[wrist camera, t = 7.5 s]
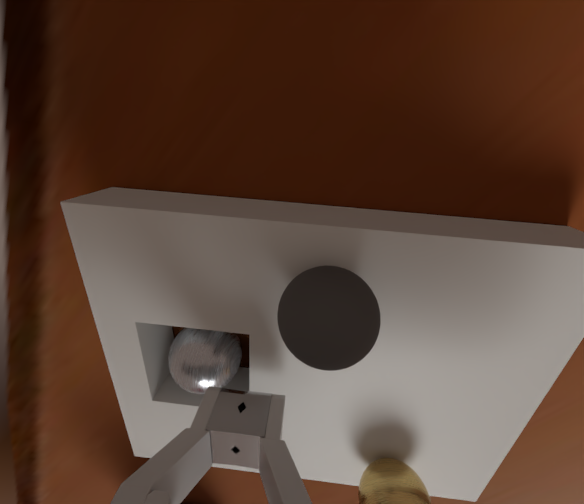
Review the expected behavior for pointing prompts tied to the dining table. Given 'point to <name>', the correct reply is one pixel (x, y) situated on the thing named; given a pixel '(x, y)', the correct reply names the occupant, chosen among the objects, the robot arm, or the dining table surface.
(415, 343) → the plate
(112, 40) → the dining table surface
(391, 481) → the brass ball
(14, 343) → the dining table surface
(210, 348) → the steel ball
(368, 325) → the black rubber ball
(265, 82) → the dining table surface
